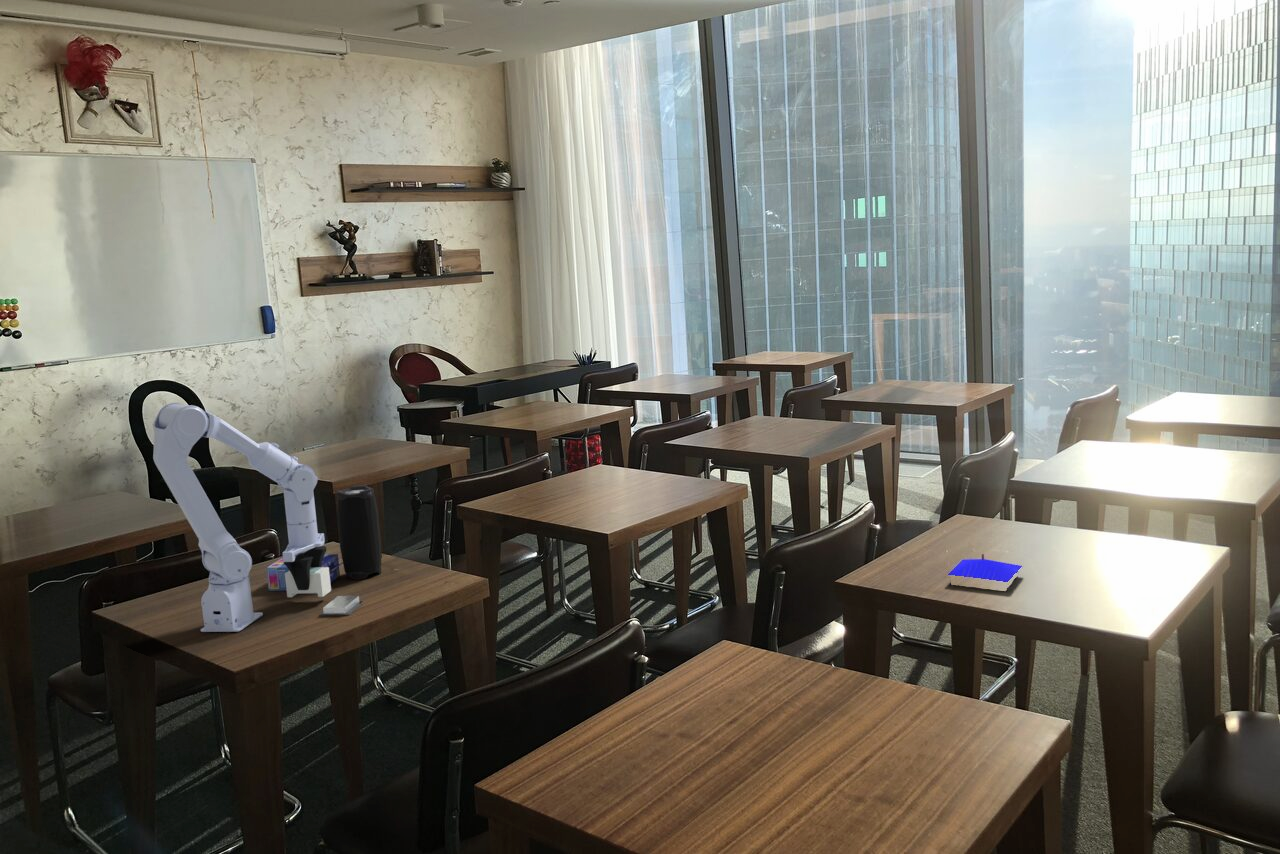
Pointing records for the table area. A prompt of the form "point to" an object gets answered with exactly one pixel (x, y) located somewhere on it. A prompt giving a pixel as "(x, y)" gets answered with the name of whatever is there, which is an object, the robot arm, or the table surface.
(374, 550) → the portable speaker
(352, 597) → the grey base plate
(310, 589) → the rail module
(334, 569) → the ink cartridge box
